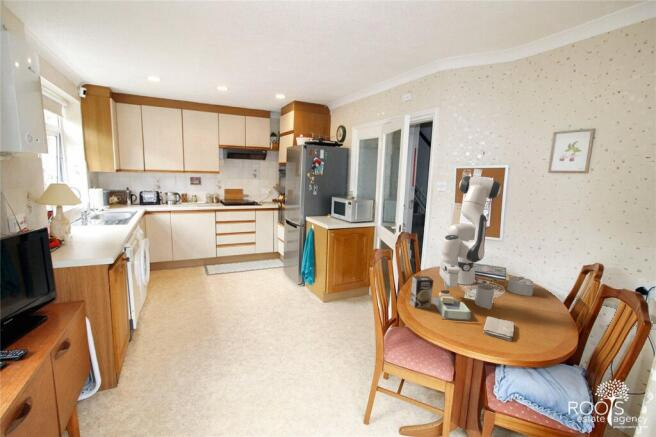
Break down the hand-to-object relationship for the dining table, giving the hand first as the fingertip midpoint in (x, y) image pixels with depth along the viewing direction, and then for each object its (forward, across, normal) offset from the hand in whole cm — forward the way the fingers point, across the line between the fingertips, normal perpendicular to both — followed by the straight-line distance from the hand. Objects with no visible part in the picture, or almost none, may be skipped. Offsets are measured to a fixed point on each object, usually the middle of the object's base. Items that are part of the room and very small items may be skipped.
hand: (446, 288), depth 172 cm
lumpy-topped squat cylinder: (+8, -23, +52) cm, 57 cm away
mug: (+8, +1, +20) cm, 22 cm away
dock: (+8, +10, -1) cm, 12 cm away
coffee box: (+8, +8, -16) cm, 19 cm away
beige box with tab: (+7, +2, 0) cm, 7 cm away
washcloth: (+9, +27, +16) cm, 33 cm away
